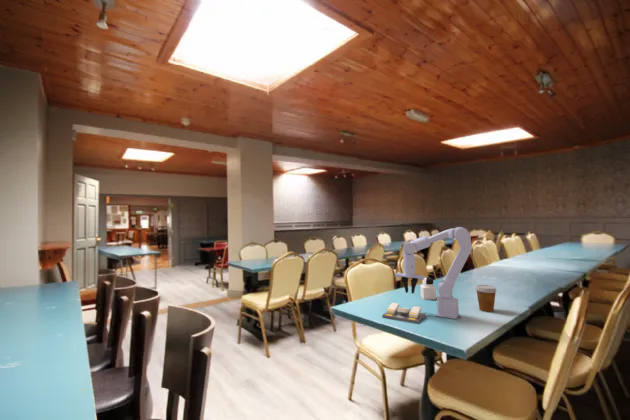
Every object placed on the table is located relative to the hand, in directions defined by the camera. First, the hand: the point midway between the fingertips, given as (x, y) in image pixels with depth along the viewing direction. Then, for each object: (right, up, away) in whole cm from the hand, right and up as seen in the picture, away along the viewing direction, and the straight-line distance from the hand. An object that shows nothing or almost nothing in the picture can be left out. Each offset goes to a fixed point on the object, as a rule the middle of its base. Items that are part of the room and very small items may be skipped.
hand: (409, 292), depth 158 cm
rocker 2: (-5, -7, -7) cm, 11 cm away
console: (-5, -10, -7) cm, 13 cm away
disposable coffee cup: (+40, -10, +1) cm, 41 cm away
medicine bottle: (+19, -10, +26) cm, 34 cm away
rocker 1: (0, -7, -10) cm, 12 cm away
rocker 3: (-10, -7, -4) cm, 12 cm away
